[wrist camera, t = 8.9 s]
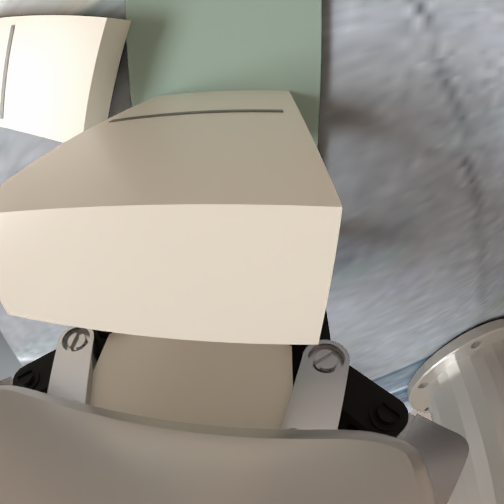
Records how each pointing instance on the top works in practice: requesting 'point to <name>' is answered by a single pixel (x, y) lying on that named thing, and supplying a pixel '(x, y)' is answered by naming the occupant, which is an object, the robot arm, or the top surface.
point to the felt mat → (226, 49)
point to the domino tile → (194, 380)
